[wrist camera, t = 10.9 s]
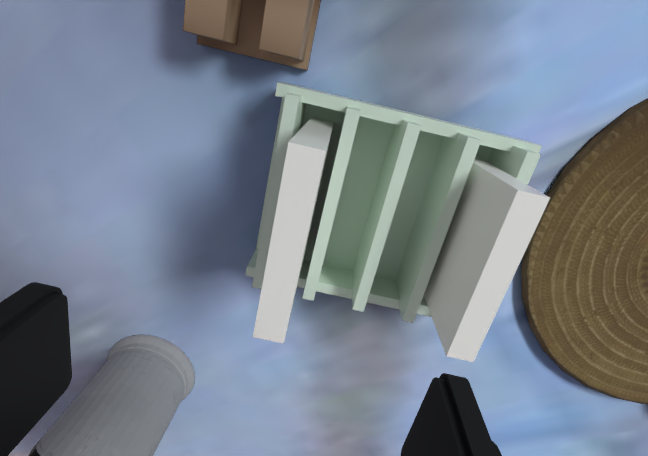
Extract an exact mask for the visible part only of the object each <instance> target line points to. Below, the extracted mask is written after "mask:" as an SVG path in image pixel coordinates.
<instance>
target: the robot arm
mask: <svg viewBox="0 0 648 456" xmlns="http://www.w3.org/2000/svg"><path fill="white" fill-rule="evenodd" d="M71 378H72V369H71V352H70V335H69V319H68V302H67V297H66V296H65V295H63V294H62V291H61V289H60V288H58V287H54V286H49V285H45V284H40V283H36V282H34V283H30V284H28V285H26V286H25V287H23V288H22V289H20V290H19V291H17V292H16V293H14V294H13V295H11V296H10V297H8V298H7V299H5V300H4V301H2V302H1V303H0V456H8V455H9V454H10V452H11V451H12V450H13V449H14V448H15V447H16V446H17V445H18V444H19V442H20V441H21V440H22V439H23V438H24V437H25V436H26V435H27V433H28V432H29V431H30V430H31V429H32V428H33V427H34V426H35V424H36V423H37V422H38V421H39V420H40V419H41V418H42V417H43V415H44V414H45V413H46V412H47V411H48V410H49V409H50V408H51V406H52V405H53V404H54V403H55V402H56V401H57V400H58V399H59V397H60V396H61V395H62V394H63V393H64V392H65V390H66V389H67V388H68V386H69V384H70V382H71ZM401 456H502V455H501V453H500V451H499V449H498V447H497V445H496V444H495V443H494V442H493V441H491V438H490V436H489V433H488V431H487V428H486V425H485V423H484V420H483V417H482V415H481V412H480V410H479V407H478V404H477V402H476V399H475V396H474V394H473V391H472V388H471V386H470V383H469V381H468V380H467V379H466V378H463V377H459V376H454V375H450V374H445V373H443V374H442V375H441V376H440V378H434V379H433V380H432V382H431V384H430V386H429V389H428V391H427V393H426V395H425V398H424V400H423V402H422V404H421V407H420V409H419V411H418V413H417V416H416V418H415V420H414V422H413V425H412V427H411V429H410V431H409V434H408V436H407V438H406V440H405V442H404V445H403V447H402V451H401Z"/></svg>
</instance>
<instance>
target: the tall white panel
mask: <svg viewBox="0 0 648 456" xmlns="http://www.w3.org/2000/svg"><path fill="white" fill-rule="evenodd" d="M333 124H334V122H332V121H328V120H324V119H319V118H315V117H311V118H310V120H309V121H308V122H307V123H306V124H305V125H304V126H303V127H302V128H301V129H300V130H299V131H298V132H297V133H296V134H295V136H294V137H293V138H292V139H291V140H290V141H289V142H288V147H287V152H286V158H285V163H284V169H283V174H282V180H281V185H280V191H279V196H278V202H277V207H276V213H275V218H274V224H273V229H272V235H271V240H270V246H269V251H268V257H267V262H266V268H265V273H264V279H263V284H262V290H261V295H260V301H259V306H258V312H257V317H256V323H255V328H254V334H253V337H256V338H260V339H265V340H270V341H274V342H279V343H284V340H285V336H286V332H287V328H288V323H289V319H290V315H291V310H292V306H293V302H294V298H295V293H296V289H297V285H298V280H299V276H300V272H301V268H302V263H303V259H304V255H305V250H306V246H307V242H308V237H309V233H310V228H311V224H312V219H313V215H314V210H315V206H316V201H317V197H318V192H319V188H320V183H321V179H322V174H323V170H324V165H325V161H326V156H327V152H328V147H329V143H330V138H331V134H332V129H333Z"/></svg>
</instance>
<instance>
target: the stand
mask: <svg viewBox="0 0 648 456" xmlns="http://www.w3.org/2000/svg"><path fill="white" fill-rule="evenodd" d="M320 3H321V0H185V12H184V26H183V31H186V32H189V33H192V34H196V35H198V38H197V44H201V45H205V46H209V47H213V48H217V49H221V50H226V51H230V52H234V53H238V54H242V55H246V56H250V57H255V58H259V59H263V60H267V61H271V62H275V63H279V64H284V65H288V66H292V67H296V68H300V69H304V70H308V66H309V61H310V55H311V50H312V45H313V40H314V34H315V29H316V24H317V19H318V13H319V8H320Z"/></svg>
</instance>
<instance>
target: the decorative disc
mask: <svg viewBox="0 0 648 456" xmlns="http://www.w3.org/2000/svg"><path fill="white" fill-rule="evenodd" d="M546 196H548V197H550V199H549V202H548V204H547V206H546V208H545V210H544V212H543V214H542V217H541V219H540V221H539V223H538V225H537V227H536V229H535V232H534V234H533V236H532V238H531V240H530V242H529V244H528V247H527V249H526V251H525V253H524V255H523V260H522V267H521V276H522V300H523V304H524V307H525V311H526V315H527V318H528V322H529V326H530V328H531V329H532V331H533V333H534V335H535V336H536V338H537V340H538V342H539V344H540V345H541V347H542V349H543V350H544V351H545V353H546V354H547V355H548V356H549V357H550V358H551V359H552V360H553V361H554V362H555V363H556V364H557V365H558V366H559V368H560V369H561V370H563V371H564V372H566V373H567V374H569V375H570V376H571V377H573V378H574V379H576V380H577V381H579V382H580V383H582V384H583V385H585V386H587V387H589V388H592V389H594V390H596V391H599V392H601V393H604V394H606V395H608V396H611V397H614V398H618V399H623V400H627V401H632V402H636V403H641V404H648V99H646V100H644V101H642V102H640V103H638V104H637V105H635V106H633V107H631V108H630V109H628V110H627V111H626V112H624V113H623V114H622V115H620V116H619V117H618V118H617V119H615V120H614V121H613V122H611V123H610V124H609V125H608V126H606V127H605V128H604V129H603V130H601V131H600V132H599V133H598V134H596V135H595V136H594V137H592V138H591V139H590V141H589V142H588V143H587V144H586V145H585V146H584V147H583V148H582V149H581V150H580V151H579V152H578V154H577V155H576V156H575V157H574V158H573V159H572V160H571V161H570V162H569V164H568V165H567V166H566V167H565V168H564V169H563V171H562V172H561V174H560V175H559V177H558V178H557V180H556V181H555V183H554V184H553V186H552V187H551V189H550V190H549V192H548V194H547V195H546Z"/></svg>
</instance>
